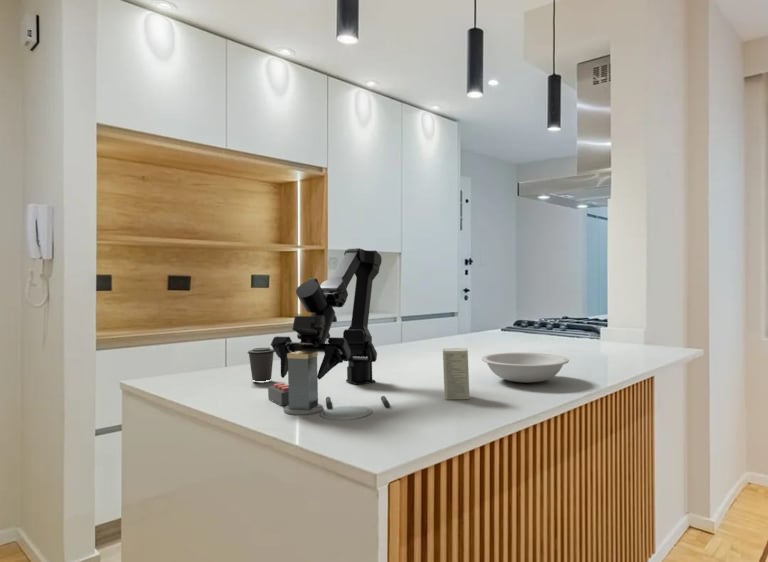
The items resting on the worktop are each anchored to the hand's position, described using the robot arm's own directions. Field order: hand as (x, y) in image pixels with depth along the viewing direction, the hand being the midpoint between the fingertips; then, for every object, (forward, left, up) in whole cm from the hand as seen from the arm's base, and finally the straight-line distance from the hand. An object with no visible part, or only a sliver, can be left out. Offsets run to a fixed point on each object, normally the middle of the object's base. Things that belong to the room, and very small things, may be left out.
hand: (300, 377), depth 119 cm
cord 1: (-8, -2, -8) cm, 11 cm away
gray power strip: (-1, -12, -8) cm, 14 cm away
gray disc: (-1, -1, -8) cm, 8 cm away
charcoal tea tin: (-1, -1, -7) cm, 7 cm away
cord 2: (-19, +6, -8) cm, 22 cm away
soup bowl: (-66, +7, -8) cm, 67 cm away
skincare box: (-37, +11, -8) cm, 39 cm away
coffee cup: (-5, -40, -8) cm, 41 cm away
